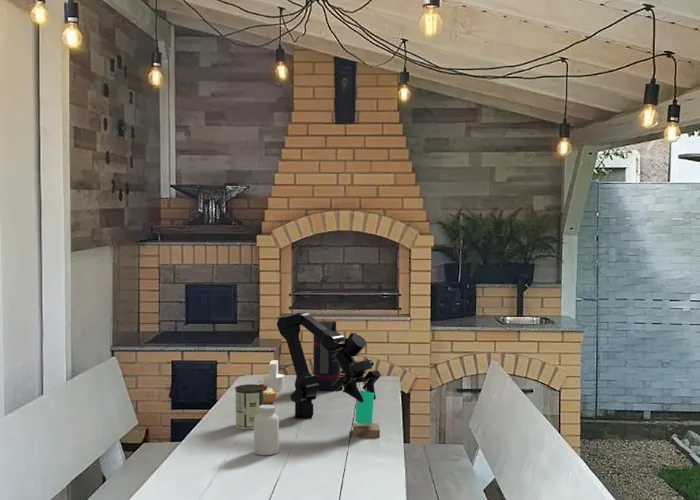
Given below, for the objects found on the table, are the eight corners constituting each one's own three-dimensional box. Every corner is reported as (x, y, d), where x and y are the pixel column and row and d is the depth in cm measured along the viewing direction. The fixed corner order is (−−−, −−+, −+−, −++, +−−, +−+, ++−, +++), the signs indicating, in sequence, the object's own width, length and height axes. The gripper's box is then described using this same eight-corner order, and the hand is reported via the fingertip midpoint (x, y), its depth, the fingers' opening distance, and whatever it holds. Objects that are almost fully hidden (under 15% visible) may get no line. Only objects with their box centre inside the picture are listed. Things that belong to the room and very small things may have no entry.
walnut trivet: (353, 437, 277) (353, 430, 277) (353, 430, 286) (353, 423, 286) (379, 437, 277) (379, 430, 277) (378, 430, 286) (378, 423, 286)
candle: (373, 424, 278) (375, 389, 278) (356, 423, 277) (358, 388, 277) (370, 420, 284) (373, 386, 284) (354, 419, 283) (356, 385, 283)
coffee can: (251, 420, 298) (251, 382, 297) (269, 425, 291) (269, 387, 290) (229, 425, 290) (229, 387, 290) (247, 431, 283) (247, 391, 283)
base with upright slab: (283, 391, 345) (283, 364, 344) (262, 391, 345) (262, 364, 345) (284, 387, 354) (285, 360, 353) (264, 387, 354) (264, 360, 354)
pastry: (258, 407, 317) (258, 385, 317) (241, 402, 326) (241, 380, 326) (282, 403, 325) (282, 381, 325) (265, 397, 334) (265, 376, 333)
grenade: (315, 385, 359) (316, 318, 357) (342, 386, 357) (342, 319, 355) (310, 392, 345) (310, 322, 343) (337, 393, 343) (337, 323, 342)
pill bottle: (282, 450, 261) (282, 404, 261) (272, 457, 254) (272, 410, 253) (260, 447, 264) (260, 402, 263) (249, 454, 256) (249, 408, 256)
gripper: (339, 353, 276) (361, 391, 269) (377, 347, 289) (399, 383, 282) (324, 372, 283) (344, 409, 275) (362, 366, 295) (383, 401, 288)
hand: (368, 400), depth 280 cm, fingers closed on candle, 6 cm apart
